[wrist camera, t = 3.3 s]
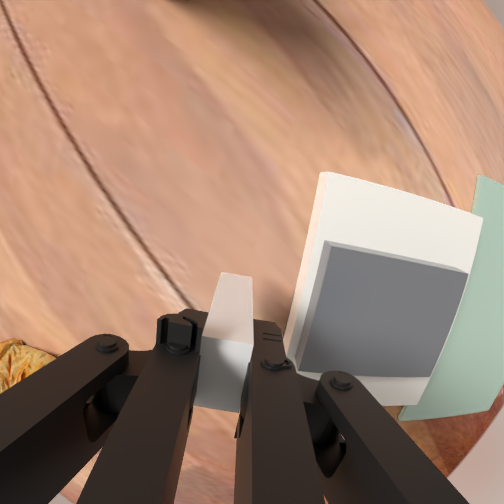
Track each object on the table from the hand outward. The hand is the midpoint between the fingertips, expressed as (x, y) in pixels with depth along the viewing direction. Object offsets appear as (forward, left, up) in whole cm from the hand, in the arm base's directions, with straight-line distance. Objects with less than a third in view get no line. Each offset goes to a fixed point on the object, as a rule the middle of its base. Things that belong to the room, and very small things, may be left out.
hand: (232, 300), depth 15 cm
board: (0, -9, -3) cm, 10 cm away
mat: (0, -21, -3) cm, 21 cm away
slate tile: (0, -9, -1) cm, 9 cm away
